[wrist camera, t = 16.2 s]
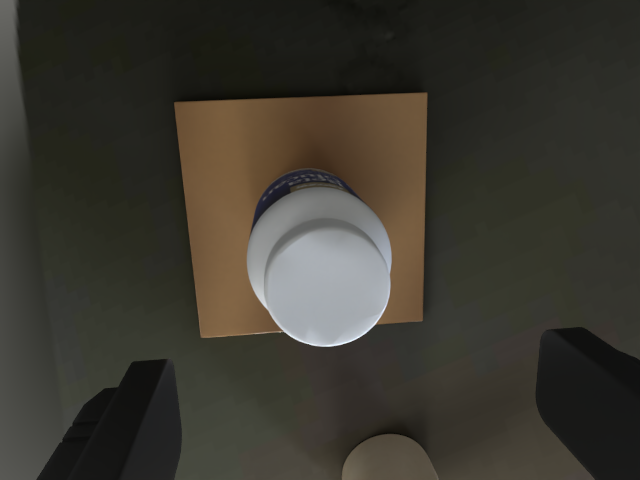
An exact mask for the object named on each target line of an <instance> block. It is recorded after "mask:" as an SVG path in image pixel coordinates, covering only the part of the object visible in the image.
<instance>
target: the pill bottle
mask: <svg viewBox="0 0 640 480" xmlns="http://www.w3.org/2000/svg"><path fill="white" fill-rule="evenodd" d="M391 263H392V257H391V246H390V241H389V238H388V235H387V232H386V230H385V228H384V226H383V224H382V222H381V221H380V219H379V218H378V217H377V215H376V214H375V213H374V211H373V210H372V209H371V208H370V207H369V206H368V205H367V204H366V203H365V202H364V201H363V200H362V199H361V198H360V197H359V196H358V195H357V194H356V193H355V192H354V191H353V190H352V188H351V187H350V186H349V185H348V184H347V183H346V182H344V181H343V180H342V179H340V178H339V177H337V176H336V175H334V174H332V173H329V172H327V171H324V170H320V169H312V168H307V169H298V170H294V171H291V172H288V173H286V174H284V175H282V176H280V177H279V178H277V179H276V180H274V181H273V182H272V183H271V184H270V185H269V186H268V187H267V188H266V190H265V191H264V192H263V194H262V195H261V197H260V199H259V201H258V203H257V206H256V209H255V213H254V218H253V223H252V228H251V233H250V237H249V242H248V249H247V270H248V276H249V279H250V282H251V285H252V288H253V290H254V292H255V294H256V296H257V297H258V299H259V300H260V302H261V303H262V304H263V305H264V307H265V308H266V309H267V310H268V311H269V313H270V315H271V316H272V318H273V319H274V321H275V322H276V323H277V325H278V326H279V327H280V328H281V329H282V330H283V331H284V332H285V333H287V334H288V335H289V336H291V337H293V338H294V339H296V340H298V341H301V342H303V343H306V344H310V345H314V346H336V345H342V344H345V343H348V342H351V341H353V340H355V339H357V338H359V337H361V336H362V335H364V334H365V333H366V332H368V331H369V330H370V329H371V328H372V327H373V326H374V325H375V324H376V323H377V321H378V320H379V319H380V317H381V316H382V314H383V312H384V310H385V308H386V306H387V303H388V299H389V295H390V286H391V285H390V270H391Z"/></svg>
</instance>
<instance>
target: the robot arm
mask: <svg viewBox="0 0 640 480" xmlns="http://www.w3.org/2000/svg"><path fill="white" fill-rule="evenodd" d="M536 403H537V407H538V411H539V413H540V416H541V418H542V419H543V421H544V422H545V424H546V425H547V426H548V427H549V428H550V429H551V430H552V432H553V433H554V434H555V435H556V436H557V437H558V438H559V439H560V441H561V442H562V443H563V444H564V445H565V446H566V447H567V448H568V449H569V451H570V452H571V453H572V454H573V455H574V456H575V457H576V458H577V460H578V461H579V462H580V463H581V464H582V465H583V466H584V467H585V469H586V470H587V471H588V472H589V473H590V474H591V475H592V476H593V477H594V479H595V480H640V360H639V359H637V358H635V357H632V356H630V355H628V354H625V353H623V352H620V351H618V350H616V349H615V348H613V347H612V346H610V345H609V344H607V343H606V342H604V341H603V340H601V339H600V338H598V337H597V336H595V335H594V334H592V333H591V332H590V331H588V330H587V329H585V328H582V327H576V328H563V329H550V330H546V331H545V332H544V333H543V334H542V337H541V341H540V350H539V361H538V372H537V383H536ZM181 443H182V429H181V419H180V411H179V403H178V395H177V386H176V378H175V371H174V365H173V362H172V360H171V359H160V360H147V361H135V362H132V363H131V365H130V367H129V368H128V370H127V372H126V374H125V376H124V377H123V379H122V381H121V383H120V385H119V386H118V387H117V388H105V389H104V390H102V391H101V392H100V393H98V394H97V395H96V396H95V397H93V398H92V399H91V400H90V401H88V402H87V403H86V404H84V406H83V407H82V409H81V410H80V412H79V414H78V415H77V417H76V418H75V420H74V421H73V426H72V427H70V428H69V429H68V431H67V432H66V434H65V436H64V437H63V442H62V443H59V445H58V447H57V448H56V450H55V451H54V453H53V455H52V456H51V458H50V459H49V461H48V462H47V464H46V465H45V467H44V469H43V470H42V472H41V473H40V475H39V476H38V478H37V480H174V477H175V473H176V470H177V466H178V462H179V458H180V453H181Z"/></svg>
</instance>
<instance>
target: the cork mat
mask: <svg viewBox="0 0 640 480" xmlns="http://www.w3.org/2000/svg"><path fill="white" fill-rule="evenodd" d="M174 107H175V116H176V124H177V133H178V142H179V151H180V160H181V168H182V177H183V186H184V195H185V203H186V212H187V221H188V230H189V238H190V247H191V256H192V265H193V273H194V282H195V291H196V300H197V308H198V317H199V326H200V335H201V338H208V337H221V336H234V335H247V334H260V333H273V332H284V331H283V330H282V329H281V328H280V327H279V326H278V325H277V323H276V322H275V321H274V319H273V318H272V316H271V315H270V313H269V311H268V310H267V309H266V308H265V307H264V305H263V304H262V303H261V302H260V300H259V299H258V297H257V296H256V294H255V292H254V290H253V288H252V285H251V282H250V279H249V276H248V270H247V249H248V242H249V237H250V233H251V228H252V223H253V218H254V213H255V209H256V206H257V203H258V201H259V199H260V197H261V195H262V194H263V192H264V191H265V190H266V188H267V187H268V186H269V185H270V184H271V183H272V182H273V181H274V180H276V179H277V178H279V177H280V176H282V175H284V174H286V173H288V172H291V171H294V170H298V169H307V168H312V169H320V170H324V171H327V172H329V173H332V174H334V175H336V176H337V177H339V178H340V179H342V180H343V181H344V182H346V183H347V184H348V185H349V186H350V187H351V188H352V190H353V191H354V192H355V193H356V194H357V195H358V196H359V197H360V198H361V199H362V200H363V201H364V202H365V203H366V204H367V205H368V206H369V207H370V208H371V209H372V210H373V211H374V213H375V214H376V215H377V217H378V218H379V219H380V221H381V222H382V224H383V226H384V228H385V230H386V232H387V235H388V238H389V241H390V246H391V257H392V263H391V270H390V285H391V286H390V295H389V299H388V303H387V306H386V308H385V310H384V312H383V314H382V316H381V317H380V319H379V320H378V321H377V323H376V324H388V323H401V322H414V321H423V285H424V235H425V185H426V135H427V93H426V92H423V93H396V94H370V95H343V96H317V97H290V98H263V99H237V100H210V101H184V102H174ZM376 324H375V325H376Z"/></svg>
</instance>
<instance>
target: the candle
mask: <svg viewBox="0 0 640 480" xmlns="http://www.w3.org/2000/svg"><path fill="white" fill-rule="evenodd" d="M342 480H439V479H438V476H437V474H436V472H435V470H434V467H433V465H432V463H431V461H430V459H429V457H428V455H427V454H426V452H425V451H424V450H423V448H422V447H421V446H420V445H419V444H418V443H417V442H416V441H414V440H412V439H411V438H408V437H406V436H402V435H398V434H384V435H379V436H375V437H372V438H369V439H367V440H365V441H364V442H362V443H361V444H359V445H358V446H357V447H356V448H355V449H354V450H353V451H352V452H351V453H350V454H349V456H348V457H347V459H346V461H345V463H344V466H343V470H342Z"/></svg>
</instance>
